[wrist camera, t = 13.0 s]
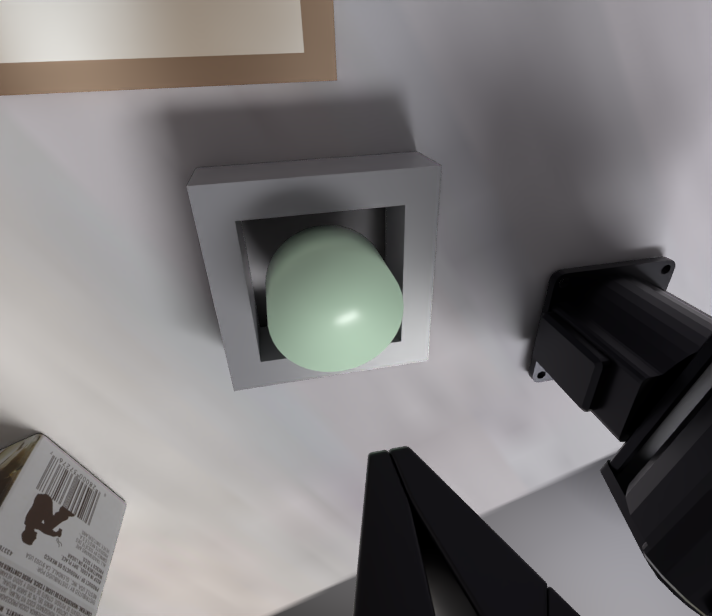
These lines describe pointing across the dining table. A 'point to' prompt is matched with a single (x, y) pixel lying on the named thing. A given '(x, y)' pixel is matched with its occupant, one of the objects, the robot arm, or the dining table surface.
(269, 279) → the button
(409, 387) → the dining table surface
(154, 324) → the dining table surface
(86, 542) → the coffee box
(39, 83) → the board
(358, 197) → the button collar
